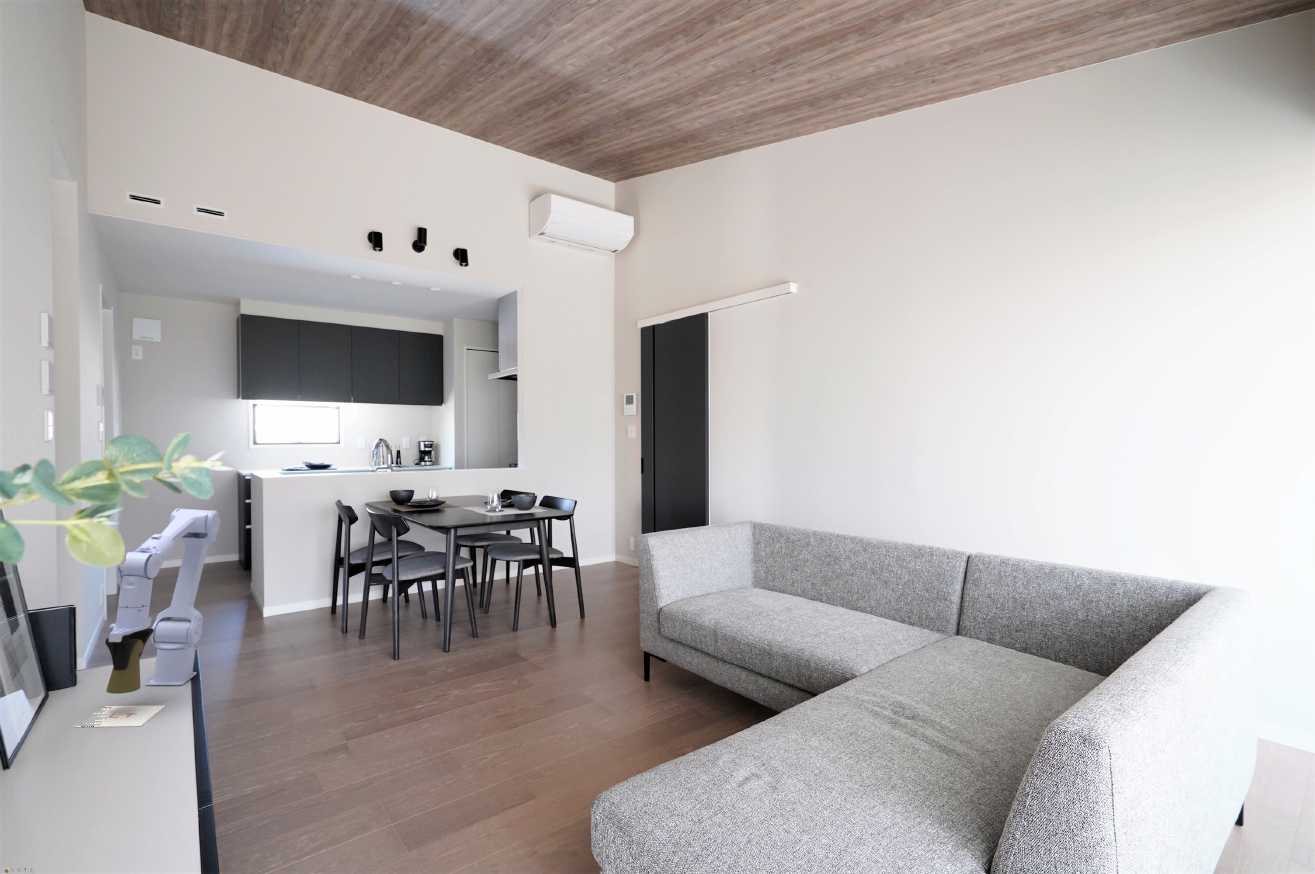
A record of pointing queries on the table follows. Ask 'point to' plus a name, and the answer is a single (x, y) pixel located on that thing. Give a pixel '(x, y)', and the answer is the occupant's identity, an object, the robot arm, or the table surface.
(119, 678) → the olive knobbed shaker
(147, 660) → the table surface
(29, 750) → the table surface
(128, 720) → the card
